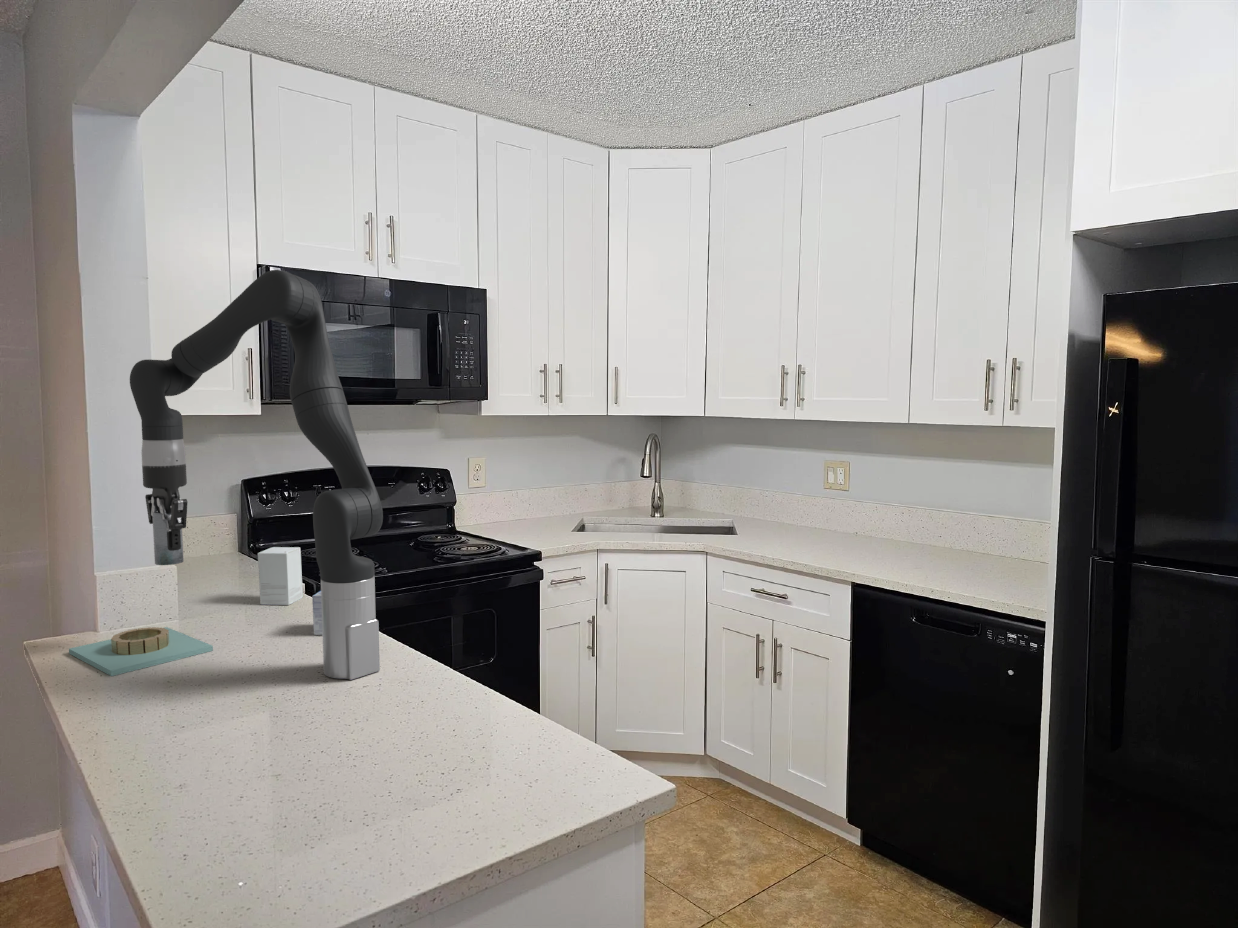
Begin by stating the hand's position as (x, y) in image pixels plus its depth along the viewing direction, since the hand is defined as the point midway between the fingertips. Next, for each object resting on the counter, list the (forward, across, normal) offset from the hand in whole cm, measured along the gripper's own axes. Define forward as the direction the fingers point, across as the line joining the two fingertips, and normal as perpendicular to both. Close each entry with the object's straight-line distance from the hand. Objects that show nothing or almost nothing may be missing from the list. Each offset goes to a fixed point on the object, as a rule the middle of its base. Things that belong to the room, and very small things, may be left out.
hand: (168, 547), depth 161 cm
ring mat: (+20, 0, +6) cm, 20 cm away
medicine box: (+20, -16, -25) cm, 36 cm away
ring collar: (+20, 0, +6) cm, 20 cm away
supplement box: (+20, +15, -31) cm, 39 cm away
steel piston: (+3, 0, 0) cm, 3 cm away
